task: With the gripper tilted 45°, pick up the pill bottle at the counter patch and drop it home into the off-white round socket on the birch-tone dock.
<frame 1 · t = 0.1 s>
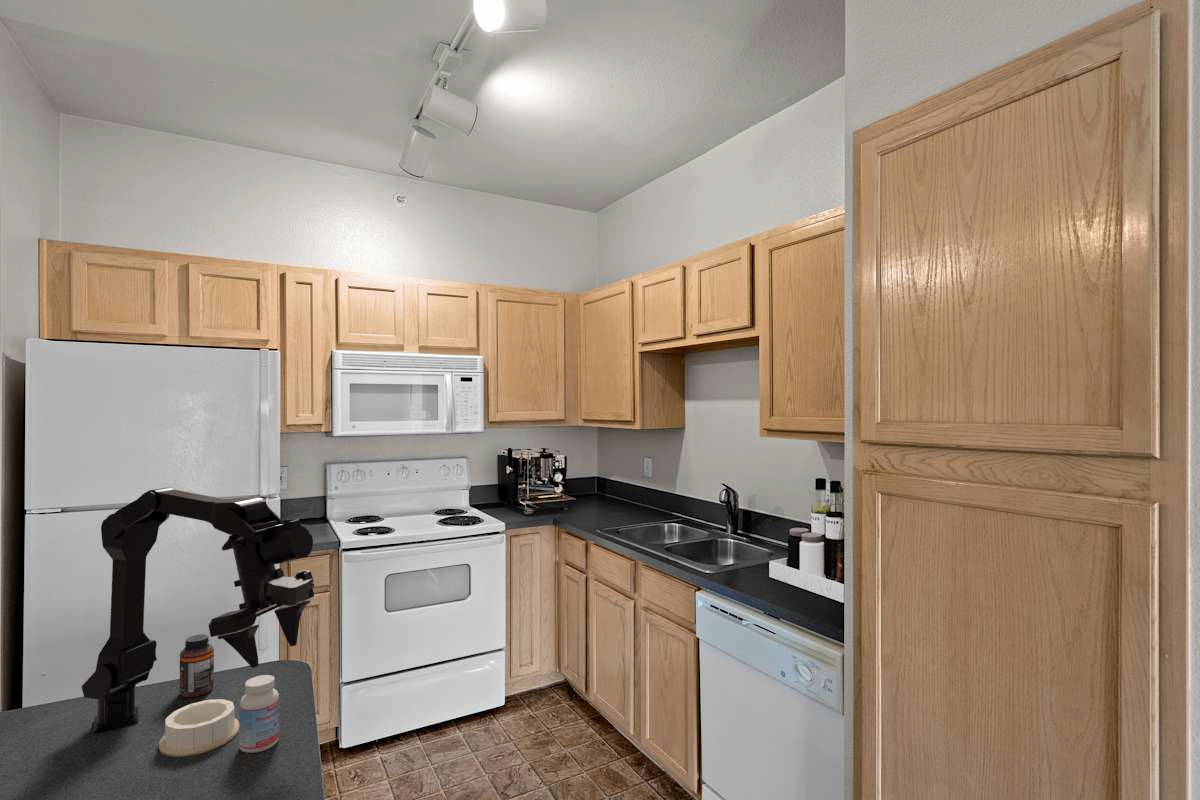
hand: (275, 656, 107), 15 cm above the countertop, tool pointing down, fingers open, 9 cm apart
supplement bottle: (196, 692, 126), on the countertop
pill bottle: (259, 745, 107), on the countertop
socket dock: (200, 737, 109), on the countertop
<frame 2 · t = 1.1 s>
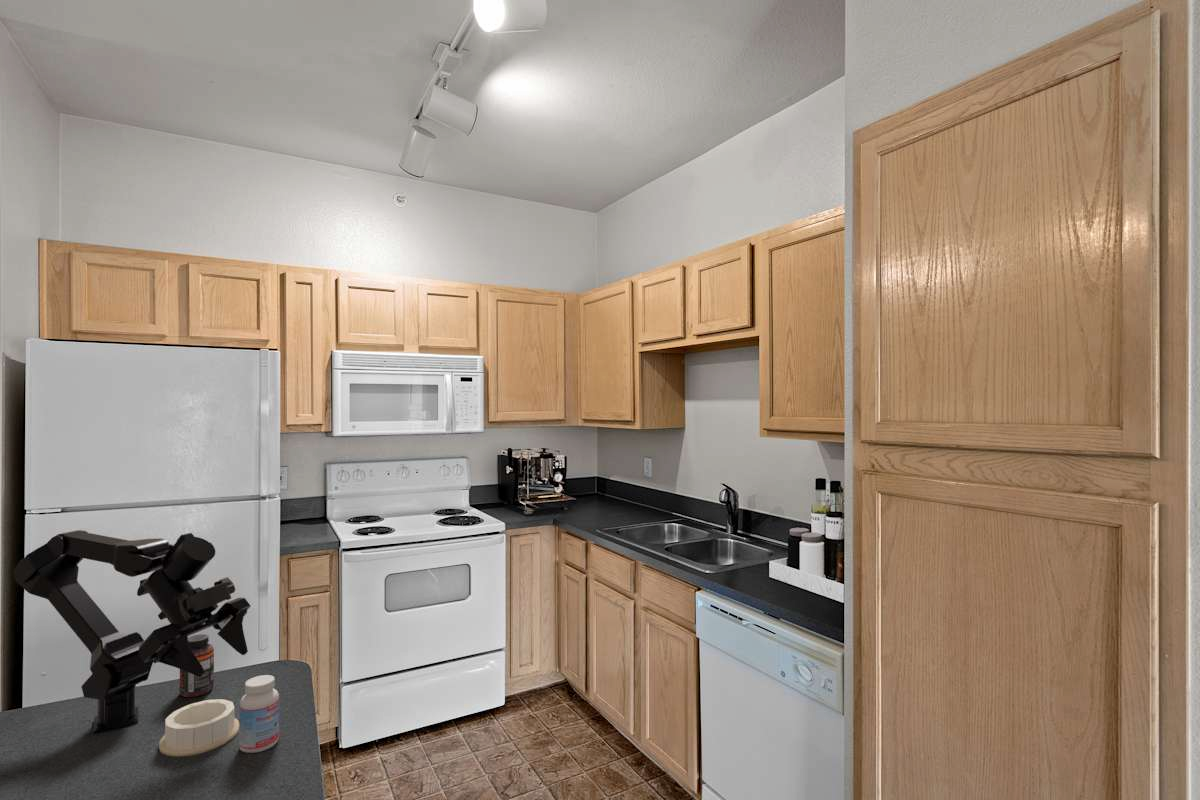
hand: (225, 663, 108), 13 cm above the countertop, tool tilted 45°, fingers open, 9 cm apart
nothing on the countertop moved.
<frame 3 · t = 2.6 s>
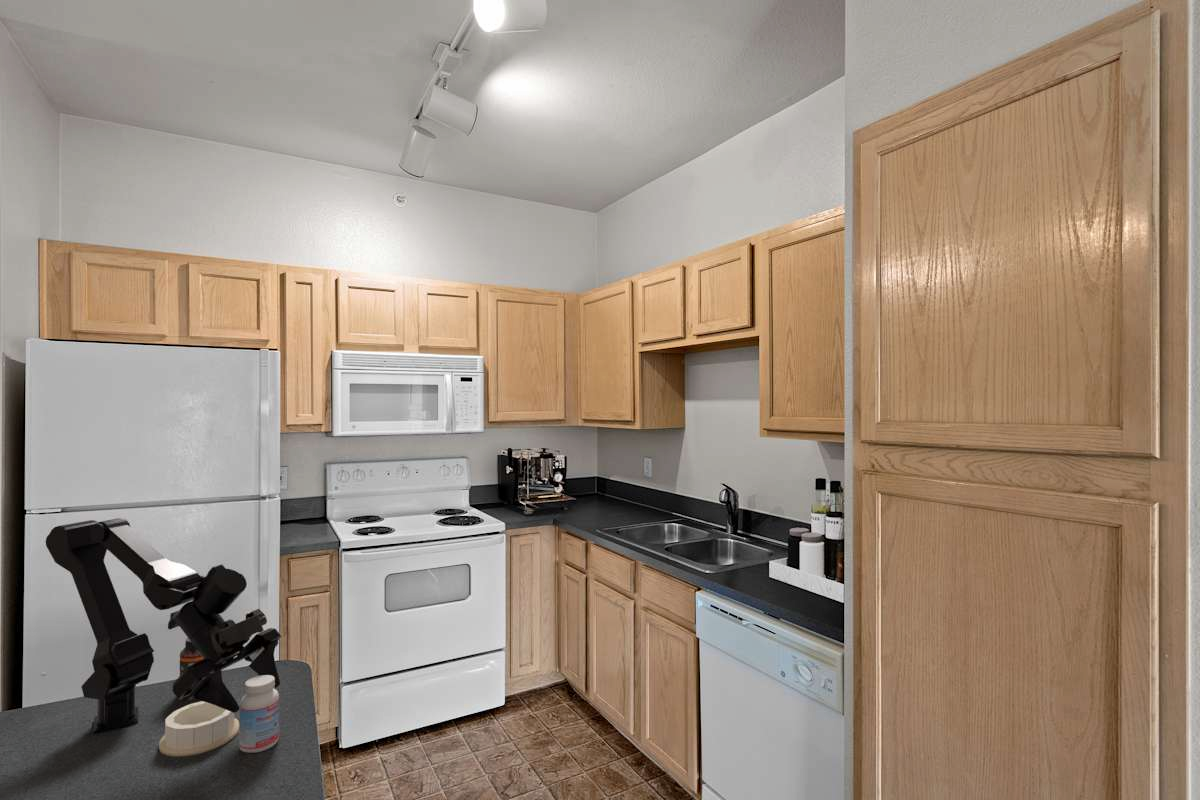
hand: (258, 697, 107), 8 cm above the countertop, tool tilted 45°, fingers open, 9 cm apart
nothing on the countertop moved.
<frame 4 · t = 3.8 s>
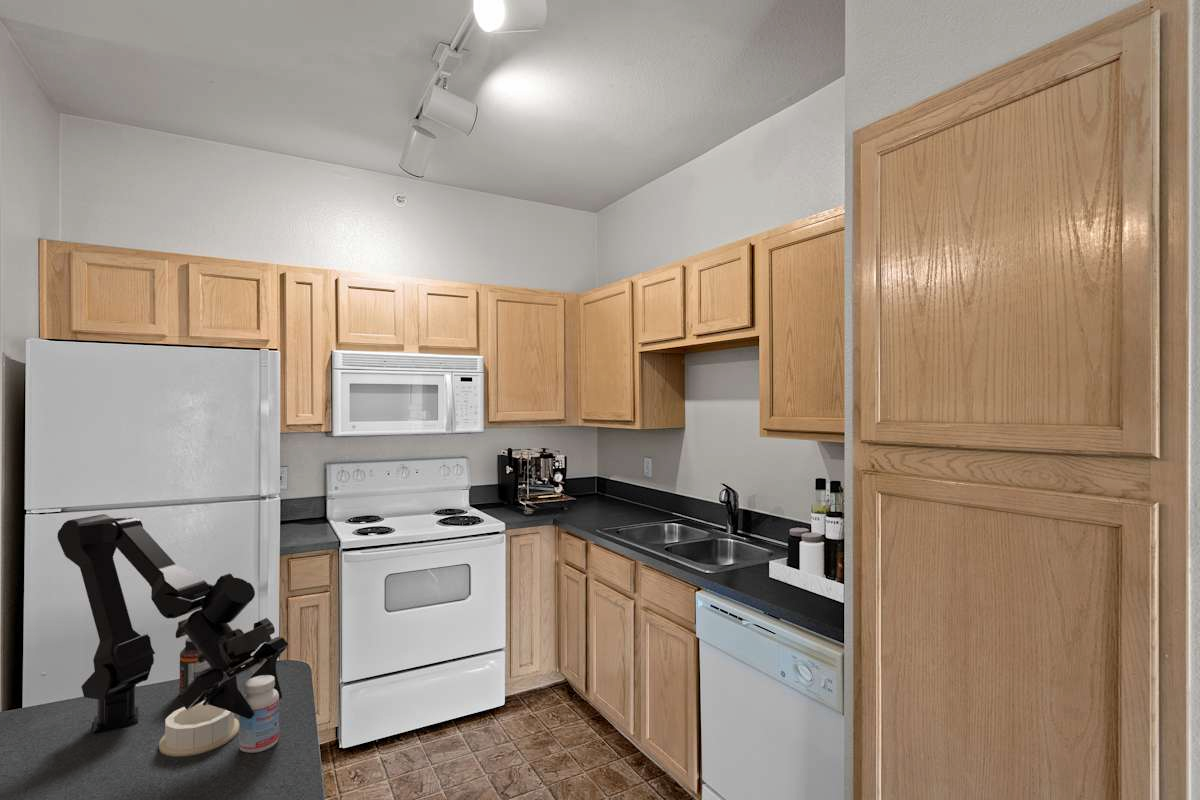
hand: (266, 707, 106), 7 cm above the countertop, tool tilted 45°, fingers closed on pill bottle, 6 cm apart
pill bottle: (259, 745, 107), on the countertop, touching gripper
everything else where it was.
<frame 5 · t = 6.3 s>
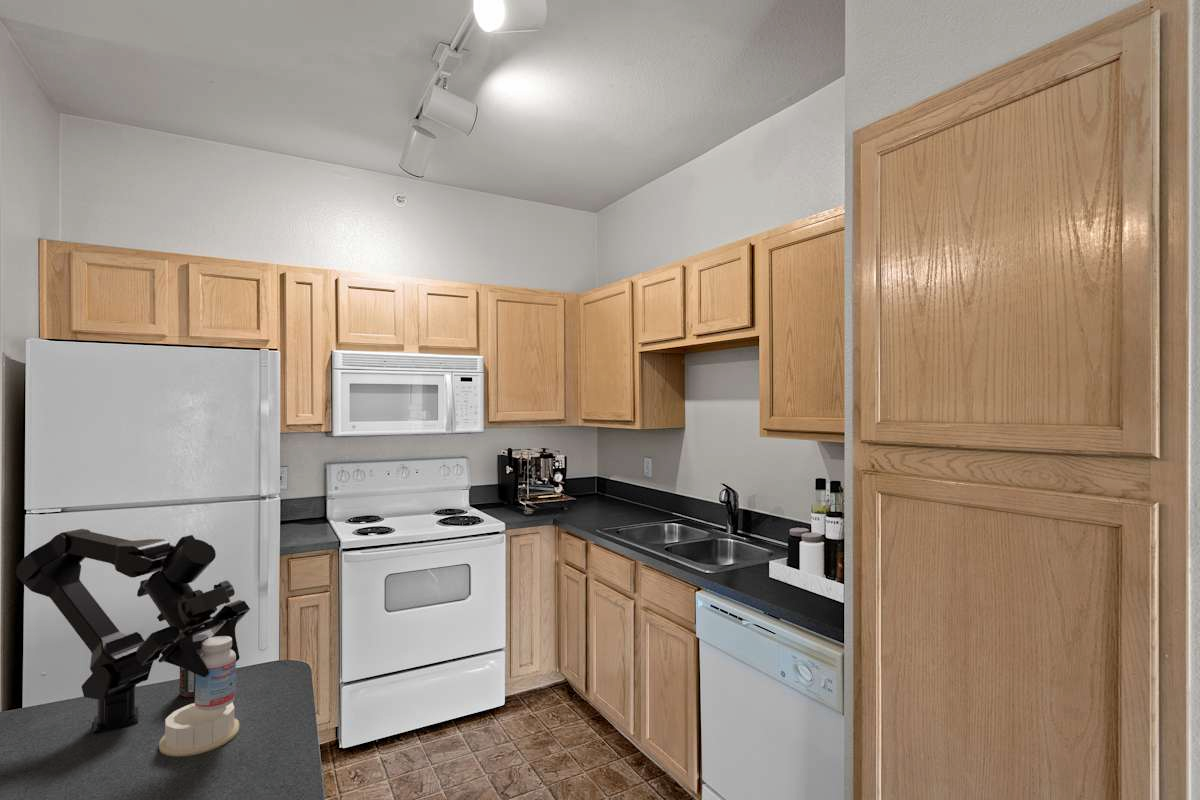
hand: (222, 667, 108), 13 cm above the countertop, tool tilted 45°, fingers closed on pill bottle, 6 cm apart
pill bottle: (215, 704, 108), point 6 cm above the countertop, touching gripper
everything else where it was.
when the fingers open (8 cm above the countertop, at t = 8.7 s): pill bottle stays where it is, resting on socket dock.
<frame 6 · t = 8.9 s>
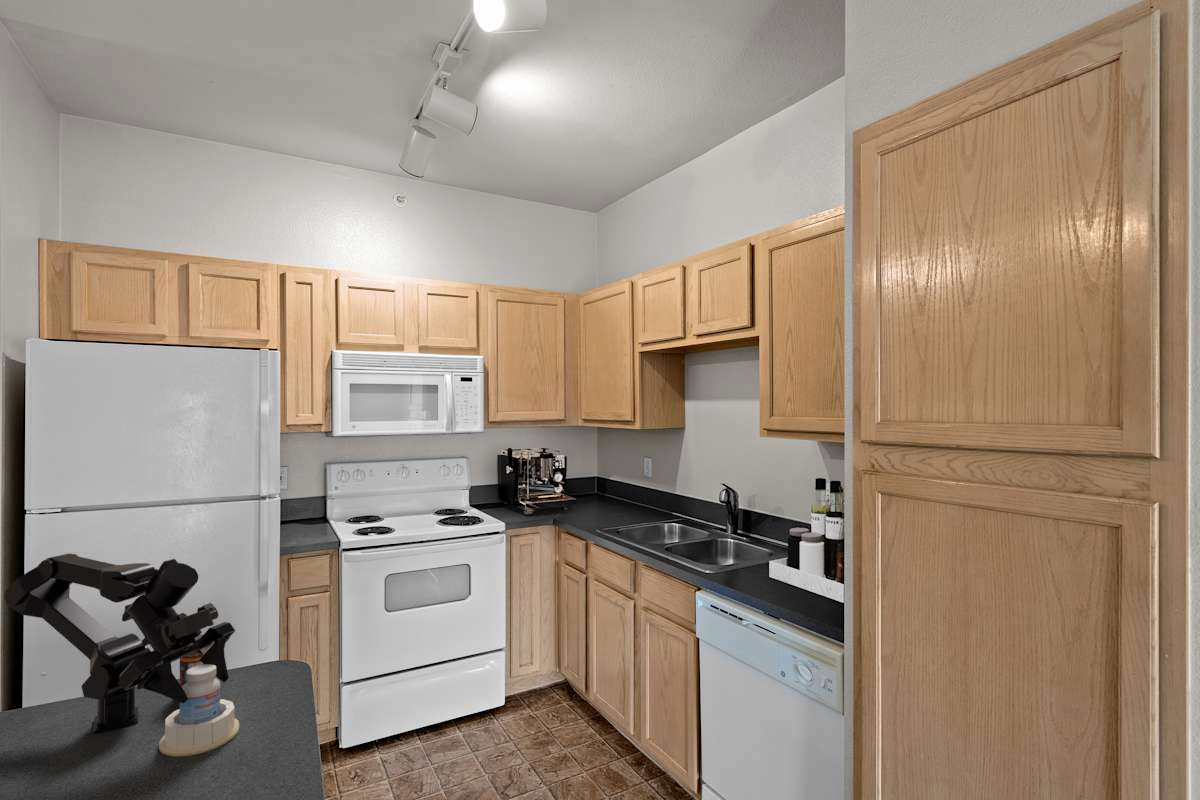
hand: (206, 690, 109), 9 cm above the countertop, tool tilted 45°, fingers open, 8 cm apart
pill bottle: (199, 733, 109), point 1 cm above the countertop, touching socket dock
everything else where it was.
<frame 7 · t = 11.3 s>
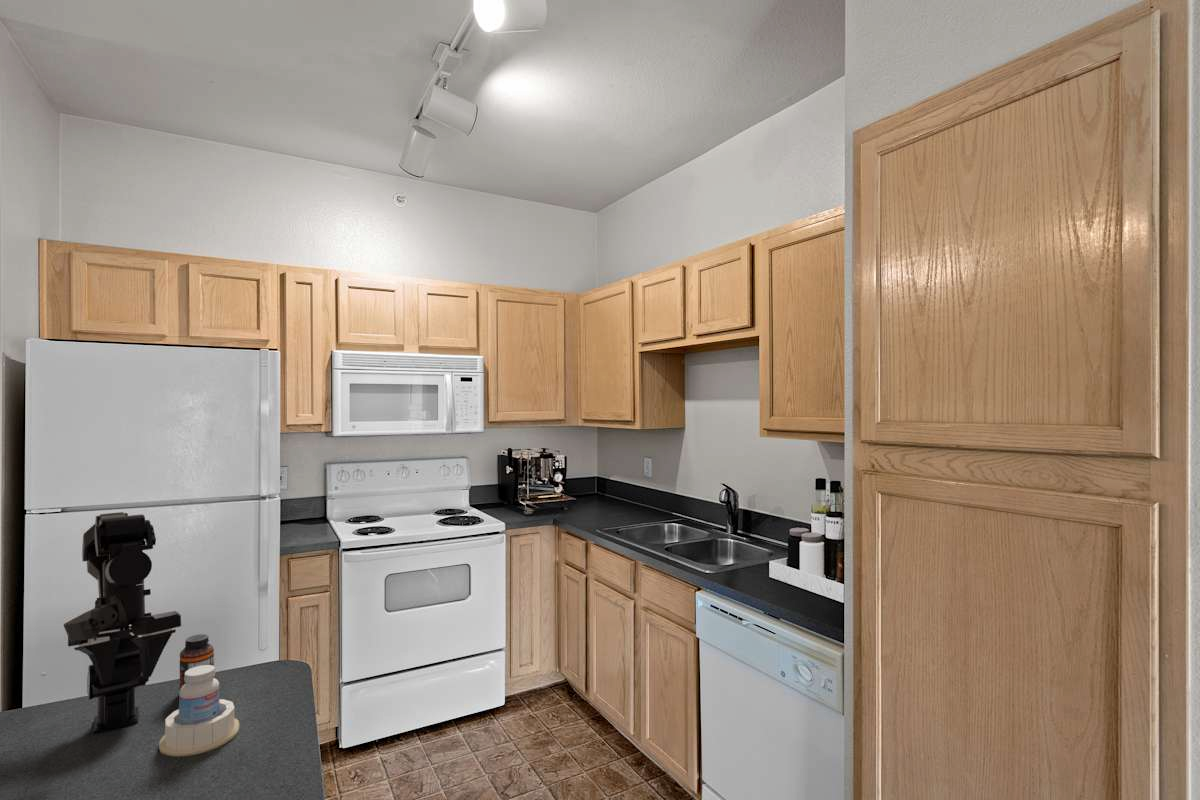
hand: (126, 680, 104), 12 cm above the countertop, tool pointing down, fingers open, 9 cm apart
nothing on the countertop moved.
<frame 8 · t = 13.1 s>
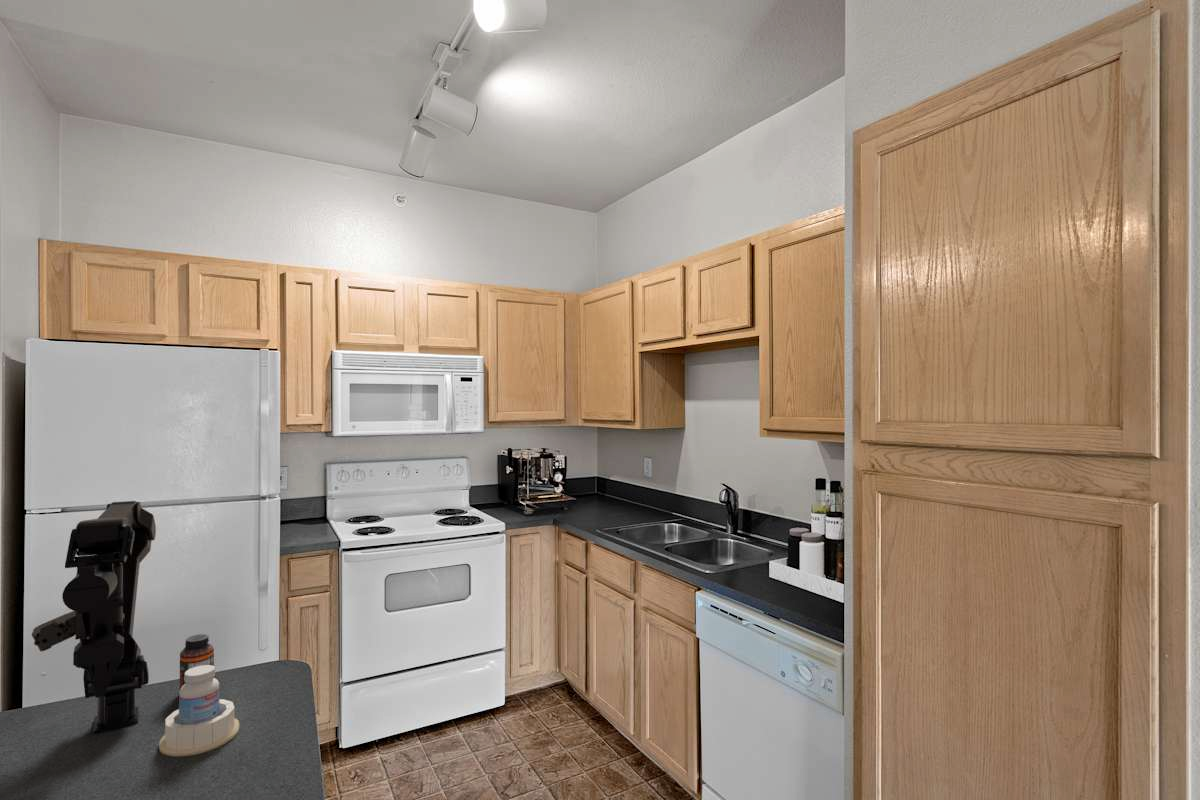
hand: (100, 686, 103), 12 cm above the countertop, tool pointing down, fingers open, 9 cm apart
nothing on the countertop moved.
at the end: pill bottle 0.2 cm off-centre on the socket dock, point 0.6 cm above the socket dock's base; pill bottle tilted 0°; the gripper is holding nothing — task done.
